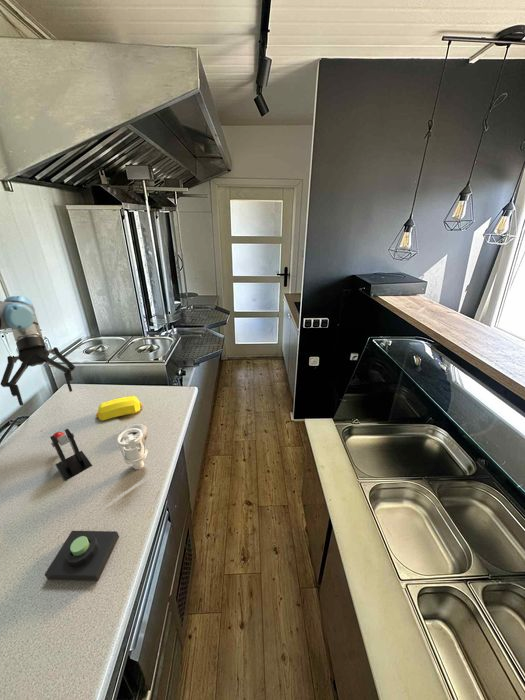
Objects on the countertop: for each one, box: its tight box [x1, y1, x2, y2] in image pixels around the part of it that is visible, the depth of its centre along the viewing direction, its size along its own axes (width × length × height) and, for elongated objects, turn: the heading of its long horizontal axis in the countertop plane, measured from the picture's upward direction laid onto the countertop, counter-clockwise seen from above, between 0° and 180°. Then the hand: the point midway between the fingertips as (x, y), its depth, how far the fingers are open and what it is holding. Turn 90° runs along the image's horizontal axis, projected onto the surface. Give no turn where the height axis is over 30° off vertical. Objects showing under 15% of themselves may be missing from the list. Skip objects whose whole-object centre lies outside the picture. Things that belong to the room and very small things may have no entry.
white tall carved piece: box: [117, 428, 149, 470], centre depth 91 cm, size 7×7×15 cm
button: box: [70, 536, 90, 556], centre depth 68 cm, size 4×4×2 cm
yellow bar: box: [95, 395, 143, 421], centre depth 119 cm, size 18×7×8 cm
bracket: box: [49, 428, 93, 482], centre depth 92 cm, size 10×8×14 cm
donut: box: [118, 423, 148, 442], centre depth 106 cm, size 10×4×10 cm
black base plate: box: [44, 530, 120, 582], centre depth 69 cm, size 12×10×4 cm
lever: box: [53, 431, 70, 447], centre depth 94 cm, size 14×4×4 cm, turn 46°
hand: (47, 397), depth 96 cm, fingers open, 13 cm apart
